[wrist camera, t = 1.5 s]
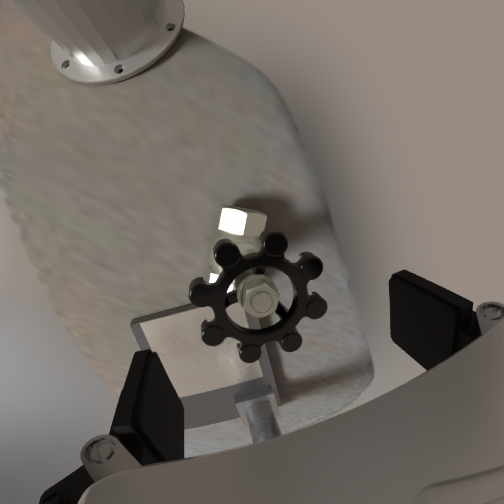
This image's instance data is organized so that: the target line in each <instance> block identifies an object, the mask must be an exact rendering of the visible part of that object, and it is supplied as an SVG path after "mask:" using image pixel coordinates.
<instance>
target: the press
mask: <svg viewBox="0 0 504 504" xmlns="http://www.w3.org/2000/svg"><path fill="white" fill-rule="evenodd" d="M226 311H227V314H228V315H229V317H230V318H231V319H232V320H233V321H234V322H235V323H237V324H238V325H240V326H242V327H245V328H249V329H261V326H260V323H259V319H257V318H255V317H254V316H252V315H251V314H249V313H248V312H247V311H245V310H244V309H243V308H242V307H241V306H240V304H239V302H237V303H234V304H232V305H230V306H229V307H228V308H227V309H226ZM214 317H215V315H214V312H213V309H212V308H211V307H209V306H207V307H197V306H195V305H193V304H189V305H185V306H181V307H178V308H174V309H170V310H166V311H162V312H159V313H155V314H151V315H147V316H143V317H139V318H135V319H132V321H131V324H130V327H131V329H132V331H133V334H134V336H135V338H136V340H137V342H138V344H139V346H140V348H141V351H142V350H147V349H150V350H151V351H152V352H157V354H158V356H159V358H160V360H161V362H162V364H163V366H164V368H165V370H166V373H167V375H168V377H169V379H170V381H171V383H172V385H173V387H174V389H175V390H176V392H177V394H178V396H179V398H180V400H181V402H182V404H183V407H184V429H190V428H195V427H200V426H205V425H209V424H214V423H218V422H223V421H227V420H231V419H235V418H239V417H241V419H242V421H243V424H244V426H245V427H248V426H249V429H250V433H251V437H252V441H253V444H254V443H257V442H261V441H265V440H268V439H272V438H275V437H278V436H281V435H282V434H281V431H280V428H279V425H278V423H277V420H276V418H279V417H281V416H280V413H279V409H278V406H280V405H282V404H281V401H280V397H279V393H278V390H277V386H276V382H275V379H274V375H273V371H272V368H271V364H270V360H269V356H268V353H267V349H266V345H265V344H264V345H263V346H262V347H261V351H262V355H261V357H260V359H259V360H257V361H256V362H254V363H245V362H243V361H242V360H241V359H240V357H239V354H238V350H237V343H240V342H239V341H238V340H236V339H234V338H231V337H228V338H225V339H224V341H223V342H222V343H221V344H220V345H218V346H208V345H206V344H205V343H204V342H203V341H202V339H201V324H202V322H203V321H204V320H205V319H206V320H207V321H208V322H210V321H212V320H213V319H214Z"/></svg>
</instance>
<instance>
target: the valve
mask: <svg viewBox="0 0 504 504" xmlns="http://www.w3.org/2000/svg"><path fill="white" fill-rule="evenodd" d="M266 219H267V215H266V214H265V213H263V212H259V211H256V210H251V209H247V208H241V207H236V206H229V205H221V206H220V211H219V217H218V222H217V227H218V229H217V230H216V231H215V233H214V234H213V235H212V237H211V239H210V242H209V245H208V260H209V264H210V267H209V273H208V279H207V281H204V278H203V277H198V278H196V279H194V280H193V281H192V282H191V283H190V286H189V300H190V301H191V303H192V304H193V305H195V306H197V307H207V306H209V307H211V308H212V309H213V312H214V315H215V317H214V319H213V320H212V321H210V322H208V321H207V320H206V319H205V320H204V321H203V322H202V324H201V339H202V341H203V342H204V343H205V344H206V345H208V346H218V345H220V344H221V343H222V342H223V341H224V339H225V338H228V337H231V338H234V339H236V340H238V341H239V342H240V343H237V350H238V354H239V357H240V359H241V360H242V361H243V362H245V363H254V362H256V361H257V360H259V359H260V357H261V355H262V351H261V347H262V346H263V345H264V344H265V343H269V342H272V341H277V342H279V344H280V346H281V348H282V349H283V350H284V351H286V352H293V351H296V350H297V349H299V348H300V346H301V344H302V337H301V335H300V334H299V332H298V331H297V329H296V326H297V324H298V323H299V321H300V320H301V319H302V318H303V317H309V318H311V319H319V318H321V317H322V316H323V315H324V314H325V313H326V311H327V303H326V301H325V300H324V299H323V298H322V297H321V296H320V295H319V294H318V293H316V292H312V295H308V290H307V284H308V282H309V281H310V280H314V279H316V278H318V277H319V276H320V275H321V273H322V271H323V263H322V261H321V260H320V259H319V258H318V257H317V256H315V255H314V254H312V253H310V252H303V253H301V254H299V255H300V257H301V259H300V260H299V261H298V262H296V263H292V262H290V261H289V260H287V259H286V258H285V257H284V253H285V251H286V250H287V247H288V240H287V238H286V236H285V235H284V234H283V233H281V232H280V231H278V230H277V229H274V228H268V229H266V230H264V229H265V224H266ZM266 267H271V268H275V269H278V270H280V271H282V272H284V273H285V274H286V275H287V276H288V277H289V278H290V281H291V283H292V285H293V291H294V297H293V302H292V305H291V307H290V309H289V310H288V309H287V308H286V307H285V306H284V305H283V304H282V303H281V302H280V301H279V295H280V294H279V293H278V290H277V286H276V284H275V283H274V281H273V280H272V279H271V277H270V276H269V275H268V273H267V272H266V271H265V268H266ZM237 302H239V304H240V306H241V307H242V308H243V309H244V310H245V311H247V312H248V313H249V314H251V315H252V316H254V317H255V318H257V319H258V318H262V317H265V316H268V315H270V314H272V313H274V312H275V313H276V314H277V315H278V316H279V318H280V319H281V320H280V321H279V322H277V323H276V324H274V325H272V326H270V327H267V328H263V329H249V328H245V327H242V326H240V325H238V324H237V323H235V322H234V321H233V320H232V319H231V318H230V317H229V315H228V314H227V311H226V309H227V308H228V307H229V306H230V305H232V304H234V303H237Z"/></svg>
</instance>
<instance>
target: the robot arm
mask: <svg viewBox="0 0 504 504" xmlns="http://www.w3.org/2000/svg"><path fill="white" fill-rule="evenodd" d="M10 1H11V2H12V3H13V4H14V5H15V6H16V7H17V8H18V9H19V10H21V11H22V12H23V13H24V14H25V15H26V16H27V17H28V18H29V19H30V20H31V21H33V22H34V23H35V24H36V25H37V26H38V27H39V28H40V29H41V30H42V31H43V32H44V33H46V34H47V35H48V36H49V37H50V38H51V56H52V60H53V62H54V64H55V67H56V68H57V69H58V70H59V71H60V72H61V73H62V74H63V75H64V76H65V77H67V78H68V79H70V80H72V81H74V82H76V83H80V84H85V85H105V84H112V83H115V82H118V81H122V80H125V79H128V78H130V77H132V76H134V75H136V74H138V73H140V72H142V71H143V70H145V69H146V68H148V67H150V66H151V65H153V64H154V63H155V62H156V61H157V60H159V59H160V58H161V57H162V56H163V55H164V54H165V53H166V52H167V51H168V50H169V49H170V48H171V47H172V45H173V44H174V42H175V40H176V39H177V37H178V36H179V34H180V31H181V29H182V26H183V22H184V3H183V0H10ZM170 30H172V31H170ZM121 70H123V72H121V73H120V74H119V72H120V71H121ZM389 297H390V329H391V332H390V333H391V338H392V340H393V342H394V343H395V344H397V345H398V346H399V347H400V348H401V349H403V350H404V351H405V352H406V353H407V354H408V355H410V356H411V357H412V358H413V359H414V360H415V361H417V362H418V363H419V364H420V365H422V367H424V368H425V369H426V370H427V371H426V372H425V373H423V374H421V375H419V376H418V377H416V378H414V379H412V380H410V381H409V382H407V383H405V384H403V385H401V386H399V387H397V388H395V389H394V390H392V391H389V392H388V393H386V394H384V395H381V396H379V397H377V398H375V399H373V400H371V401H369V402H367V403H365V404H363V405H360V406H358V407H356V408H354V409H351V410H349V411H347V412H344V413H342V414H339V415H337V416H335V417H332V418H329V419H327V420H324V421H322V422H319V423H316V424H314V425H311V426H308V427H305V428H303V429H300V430H297V431H294V432H291V433H288V434H285V435H281V436H278V437H275V438H272V439H268V440H265V441H261V442H257V443H254V444H250V445H246V446H242V447H238V448H234V449H229V450H225V451H220V452H216V453H211V454H205V455H200V456H195V457H189V458H184V407H183V404H182V402H181V400H180V398H179V396H178V394H177V392H176V390H175V389H174V387H173V385H172V383H171V381H170V379H169V377H168V375H167V373H166V370H165V368H164V366H163V364H162V362H161V360H160V358H159V356H158V354H157V352H152V351H151V350H150V349H147V350H142V351H137V352H135V354H134V356H133V359H132V363H131V366H130V369H129V372H128V375H127V378H126V381H125V384H124V388H123V389H122V391H121V394H120V398H119V401H118V404H117V408H116V411H115V415H114V418H113V422H112V425H111V429H110V433H109V435H99V436H96V437H94V438H92V439H90V440H89V441H88V442H87V443H86V444H85V445H84V446H83V448H82V450H81V453H80V457H81V461H82V463H83V466H81V467H80V468H79V469H77V470H76V471H74V472H73V473H71V474H70V475H68V476H67V477H65V478H64V479H63V480H61V481H59V482H58V483H57V484H55V485H54V486H52V487H50V488H49V489H48V490H46V491H45V492H44V493H43V495H42V496H41V498H40V501H39V504H504V304H501V303H499V302H485V303H482V304H480V305H479V306H478V307H477V309H476V312H474V311H473V302H471V301H470V300H468V299H466V298H463V297H462V296H459V295H458V294H455V293H453V292H451V291H449V290H447V289H445V288H443V287H441V286H439V285H437V284H435V283H433V282H431V281H428V280H426V279H424V278H422V277H420V276H418V275H416V274H414V273H411V272H409V271H407V270H402V271H399V272H397V273H394V274H392V276H391V279H390V280H389Z"/></svg>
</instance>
